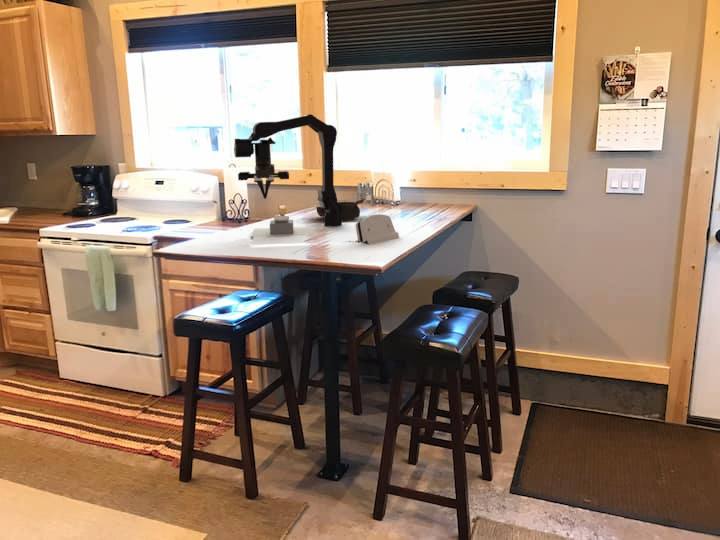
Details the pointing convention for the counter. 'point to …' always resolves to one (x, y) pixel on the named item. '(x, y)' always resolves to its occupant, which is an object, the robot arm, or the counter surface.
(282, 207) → the bar
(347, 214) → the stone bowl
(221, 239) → the counter surface
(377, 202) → the counter surface
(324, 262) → the counter surface
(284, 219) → the pin
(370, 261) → the counter surface
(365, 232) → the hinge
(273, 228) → the block
